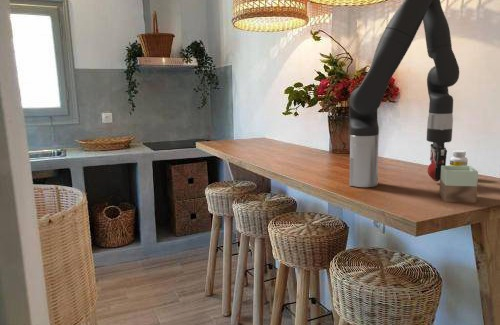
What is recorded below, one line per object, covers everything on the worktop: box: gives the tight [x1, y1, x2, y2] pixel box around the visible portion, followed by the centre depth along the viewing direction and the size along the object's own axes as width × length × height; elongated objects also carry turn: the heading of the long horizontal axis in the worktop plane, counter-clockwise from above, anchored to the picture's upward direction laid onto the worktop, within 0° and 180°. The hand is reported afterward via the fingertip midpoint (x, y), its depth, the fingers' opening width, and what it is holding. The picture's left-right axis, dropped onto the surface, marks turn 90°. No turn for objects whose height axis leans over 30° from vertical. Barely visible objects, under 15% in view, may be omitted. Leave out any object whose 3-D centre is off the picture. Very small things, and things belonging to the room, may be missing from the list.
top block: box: [441, 165, 479, 187], centre depth 114 cm, size 8×8×4 cm
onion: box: [426, 161, 442, 183], centre depth 132 cm, size 6×6×8 cm
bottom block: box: [438, 179, 478, 204], centre depth 115 cm, size 8×8×5 cm
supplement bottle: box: [449, 149, 468, 166], centre depth 138 cm, size 5×5×10 cm
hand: (436, 176), depth 133 cm, fingers closed on onion, 6 cm apart
